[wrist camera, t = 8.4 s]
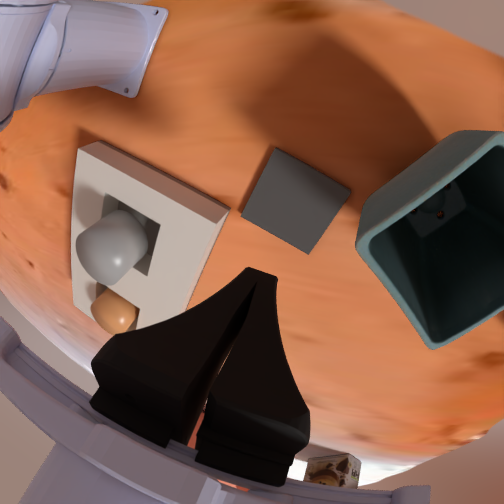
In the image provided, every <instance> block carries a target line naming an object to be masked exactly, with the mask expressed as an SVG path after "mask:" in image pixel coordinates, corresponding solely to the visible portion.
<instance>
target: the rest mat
mask: <svg viewBox="0 0 504 504" xmlns="http://www.w3.org/2000/svg"><path fill="white" fill-rule="evenodd" d="M350 193H351V190H349V189H348V188H346V187H344V186H343V185H341V184H340V183H338V182H336V181H335V180H333V179H331V178H330V177H328V176H326V175H325V174H323V173H321V172H320V171H318V170H316V169H314V168H313V167H311V166H309V165H308V164H306V163H304V162H302V161H300V160H299V159H297V158H295V157H293V156H291V155H290V154H288V153H286V152H284V151H282V150H280V149H278V148H277V147H276V148H275V149H274V151H273V153H272V155H271V157H270V159H269V161H268V163H267V165H266V167H265V169H264V171H263V173H262V175H261V176H260V178H259V180H258V182H257V184H256V186H255V188H254V190H253V192H252V194H251V196H250V198H249V200H248V202H247V204H246V206H245V208H244V210H243V212H242V214H241V217H243V218H244V219H246V220H248V221H250V222H252V223H253V224H255V225H257V226H259V227H261V228H262V229H264V230H266V231H268V232H269V233H271V234H273V235H275V236H277V237H278V238H280V239H282V240H284V241H285V242H287V243H289V244H291V245H292V246H294V247H296V248H298V249H299V250H301V251H303V252H305V253H306V254H308V255H309V253H310V252H311V250H312V249H313V248H314V246H315V245H316V243H317V242H318V240H319V239H320V238H321V236H322V235H323V233H324V232H325V230H326V229H327V227H328V226H329V225H330V223H331V222H332V220H333V219H334V217H335V216H336V214H337V213H338V211H339V210H340V208H341V207H342V205H343V204H344V202H345V201H346V199H347V198H348V196H349V195H350Z"/></svg>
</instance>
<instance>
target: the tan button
mask: <svg viewBox="0 0 504 504" xmlns="http://www.w3.org/2000/svg"><path fill="white" fill-rule="evenodd" d="M90 309H91V313H92V316H93V317H94V319H95V320H96V322H97V323H98V324H99V325H100V326H101V327H102V328H103V329H104V330H105V331H107V332H108V333H110V334H112V335H115V334H118V333H123V332H126V330H127V329H128V328H129V327H130V325H131V324H132V323H133V322H134V320H135V319H136V318H137V317H138V315H139V312H140V308H138V307H137V306H135V305H134V304H132V303H131V302H129V301H127V300H126V299H125V298H123V297H122V296H120V295H119V294H117V293H116V292H114V291H113V290H111V289H110V288H107V289H106V290H105V291H104V292H103V293H102V294H101V295H100V296H99V297H98V298H97V299H96V300H95V301H94V302H93V303H92V304H91V307H90Z"/></svg>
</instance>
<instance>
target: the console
mask: <svg viewBox="0 0 504 504" xmlns="http://www.w3.org/2000/svg"><path fill="white" fill-rule="evenodd" d="M230 209H231V208H230V207H228V206H226V205H224V204H222V203H221V202H219V201H217V200H215V199H213V198H211V197H209V196H208V195H206V194H204V193H202V192H200V191H198V190H196V189H195V188H193V187H191V186H189V185H187V184H185V183H183V182H181V181H180V180H178V179H176V178H174V177H172V176H170V175H168V174H166V173H164V172H162V171H160V170H159V169H157V168H155V167H153V166H151V165H149V164H147V163H145V162H143V161H141V160H139V159H137V158H135V157H133V156H131V155H129V154H127V153H125V152H123V151H122V150H120V149H118V148H116V147H114V146H112V145H110V144H108V143H106V142H104V141H102V140H100V141H97V142H94V143H91V144H88V145H86V146H83V147H80V148H78V153H77V160H76V168H75V177H74V188H73V201H72V220H71V269H72V289H73V302H74V305H75V306H76V307H77V308H78V309H80V310H81V311H82V312H84V313H85V314H86V315H87V316H89V317H90V318H91V319H93V320H94V321H95V322H96V320H95V319H94V317H93V316H92V313H91V309H90V307H91V304H92V303H93V302H94V301H95V300H96V299H97V298H98V297H99V296H100V295H101V294H102V293H103V292H104V291H105V290H106V289H107V288H110V289H111V290H113V291H114V292H116V293H117V294H119V295H120V296H122V297H123V298H125V299H126V300H127V301H129V302H131V303H132V304H134V305H135V306H137V307H138V308H140V312H139V315H138V317H137V318H136V319H135V320H134V322H133V323H132V324H131V325H130V327H129V328H128V329H127V330H126V332H128V331H132V330H137V329H140V328H144V327H147V326H150V325H153V324H156V323H159V322H162V321H165V320H167V319H170V318H172V317H174V316H176V315H179V314H181V313H183V312H185V311H186V308H187V306H188V304H189V301H190V299H191V297H192V294H193V292H194V290H195V287H196V285H197V283H198V280H199V278H200V276H201V274H202V271H203V269H204V267H205V264H206V262H207V260H208V258H209V255H210V253H211V251H212V249H213V246H214V244H215V242H216V240H217V238H218V235H219V233H220V231H221V229H222V227H223V224H224V222H225V220H226V218H227V216H228V213H229V211H230ZM115 210H123V211H126V212H128V213H130V214H132V215H133V216H134V217H135V218H136V219H137V220H138V221H139V222H140V223H141V225H142V226H143V228H144V230H145V232H146V235H147V239H148V249H147V252H146V254H145V255H144V256H143V257H142V258H141V259H140V260H139V261H138V262H137V263H136V264H135V265H134V266H133V267H132V268H131V269H130V270H129V271H128V272H127V273H126V274H125V275H124V276H123V277H122V278H121V279H120V280H119V281H118V282H117V283H116V284H114V285H111V286H107V285H103V284H101V283H99V282H97V281H96V280H94V279H93V278H92V277H91V276H90V275H89V274H88V273H87V272H86V271H85V269H84V268H83V266H82V265H81V263H80V261H79V259H78V256H77V253H76V246H75V244H76V239H77V237H78V235H79V234H80V233H82V232H83V231H84V230H86V229H87V228H89V227H90V226H92V225H93V224H94V223H96V222H97V221H99V220H100V219H102V218H103V217H105V216H106V215H108V214H109V213H111V212H112V211H115Z"/></svg>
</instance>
